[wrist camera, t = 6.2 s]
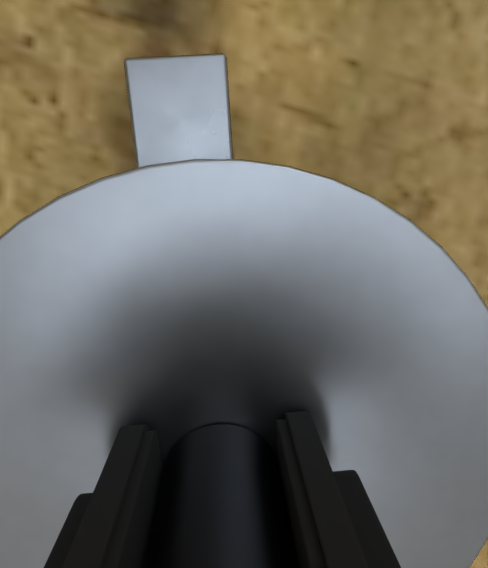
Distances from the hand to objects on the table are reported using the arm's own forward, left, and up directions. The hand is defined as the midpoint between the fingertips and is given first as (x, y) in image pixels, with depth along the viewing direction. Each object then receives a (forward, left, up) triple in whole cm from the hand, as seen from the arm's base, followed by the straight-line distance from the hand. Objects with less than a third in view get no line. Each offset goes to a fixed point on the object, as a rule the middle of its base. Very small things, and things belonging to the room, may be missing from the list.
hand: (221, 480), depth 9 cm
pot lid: (0, 0, -1) cm, 1 cm away
